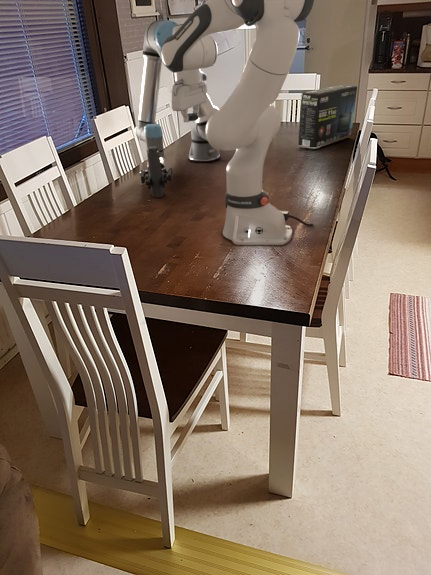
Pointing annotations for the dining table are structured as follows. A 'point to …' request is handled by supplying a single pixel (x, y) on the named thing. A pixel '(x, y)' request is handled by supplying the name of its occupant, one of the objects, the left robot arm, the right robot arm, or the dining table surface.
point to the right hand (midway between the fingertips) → (191, 120)
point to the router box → (326, 115)
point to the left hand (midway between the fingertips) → (156, 185)
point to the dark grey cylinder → (155, 171)
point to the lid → (193, 116)
